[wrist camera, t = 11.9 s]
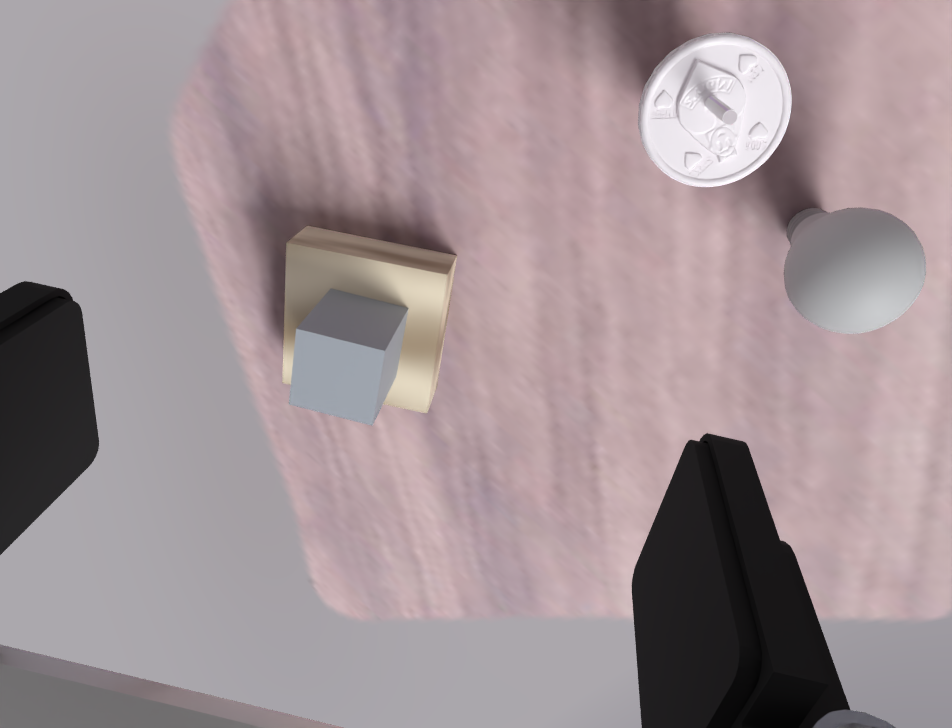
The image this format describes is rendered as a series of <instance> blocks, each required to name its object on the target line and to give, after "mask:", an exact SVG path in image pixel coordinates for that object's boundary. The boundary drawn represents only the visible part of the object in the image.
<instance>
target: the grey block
mask: <svg viewBox="0 0 952 728" xmlns="http://www.w3.org/2000/svg"><path fill="white" fill-rule="evenodd" d="M408 309H409V308H407V307H403V306H399V305H395V304H391V303H387V302H383V301H379V300H375V299H371V298H367V297H363V296H359V295H355V294H351V293H347V292H343V291H339V290H335V289H332V288H331V289H330V290H329V291H328V292H327V293H326V294H325V296H324V297H323V298H322V299H321V300H320V301H319V303H318V304H317V305H316V306H315V307H314V308H313V310H312V311H311V312H310V313H309V314H308V315H307V317H306V318H305V319H304V320H303V321H302V322H301V324H300V325H299V326H298V327H297V328H296V336H295V346H294V357H293V367H292V378H291V388H290V399H289V404H290V405H294V406H297V407H301V408H305V409H309V410H313V411H317V412H321V413H325V414H329V415H333V416H337V417H341V418H345V419H349V420H352V421H356V422H360V423H364V424H368V425H372V426H373V423H374V421H375V419H376V417H377V415H378V413H379V411H380V409H381V407H382V405H383V403H384V401H385V399H386V397H387V394H388V392H389V390H390V388H391V386H392V384H393V382H394V380H395V378H396V376H397V370H398V364H399V359H400V353H401V348H402V342H403V337H404V331H405V326H406V320H407V315H408Z"/></svg>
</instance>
